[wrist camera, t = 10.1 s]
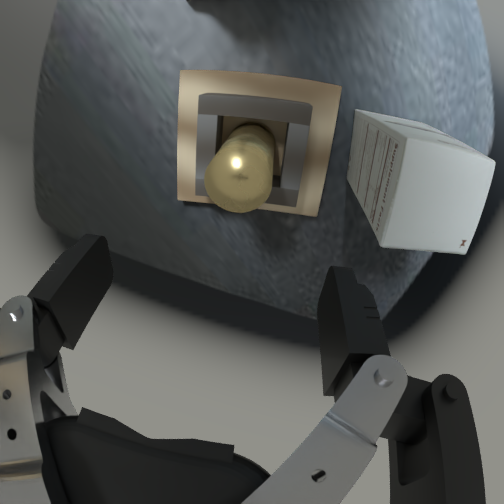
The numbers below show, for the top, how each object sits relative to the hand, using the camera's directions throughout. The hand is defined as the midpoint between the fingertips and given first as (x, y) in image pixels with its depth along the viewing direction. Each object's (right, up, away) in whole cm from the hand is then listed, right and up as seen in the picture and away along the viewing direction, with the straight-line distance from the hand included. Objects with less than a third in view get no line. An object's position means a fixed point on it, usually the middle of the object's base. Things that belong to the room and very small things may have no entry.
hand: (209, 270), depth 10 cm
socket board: (+2, +11, +16) cm, 20 cm away
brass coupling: (+1, +10, +15) cm, 18 cm away
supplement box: (+14, +11, +15) cm, 23 cm away
